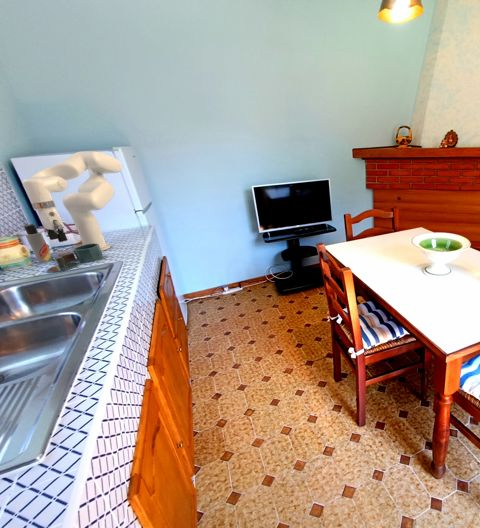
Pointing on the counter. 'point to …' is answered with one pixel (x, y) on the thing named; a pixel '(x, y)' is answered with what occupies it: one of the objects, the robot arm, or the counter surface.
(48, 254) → the lotion bottle
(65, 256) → the block
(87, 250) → the pot
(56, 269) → the lid
